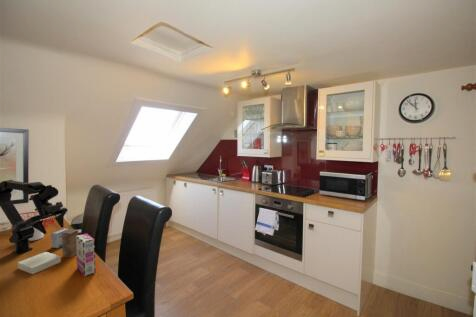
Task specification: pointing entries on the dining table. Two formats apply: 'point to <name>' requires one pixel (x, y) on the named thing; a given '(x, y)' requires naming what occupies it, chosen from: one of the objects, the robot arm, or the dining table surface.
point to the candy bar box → (85, 254)
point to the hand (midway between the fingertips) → (54, 230)
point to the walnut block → (69, 243)
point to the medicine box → (57, 238)
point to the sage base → (39, 262)
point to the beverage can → (36, 235)
